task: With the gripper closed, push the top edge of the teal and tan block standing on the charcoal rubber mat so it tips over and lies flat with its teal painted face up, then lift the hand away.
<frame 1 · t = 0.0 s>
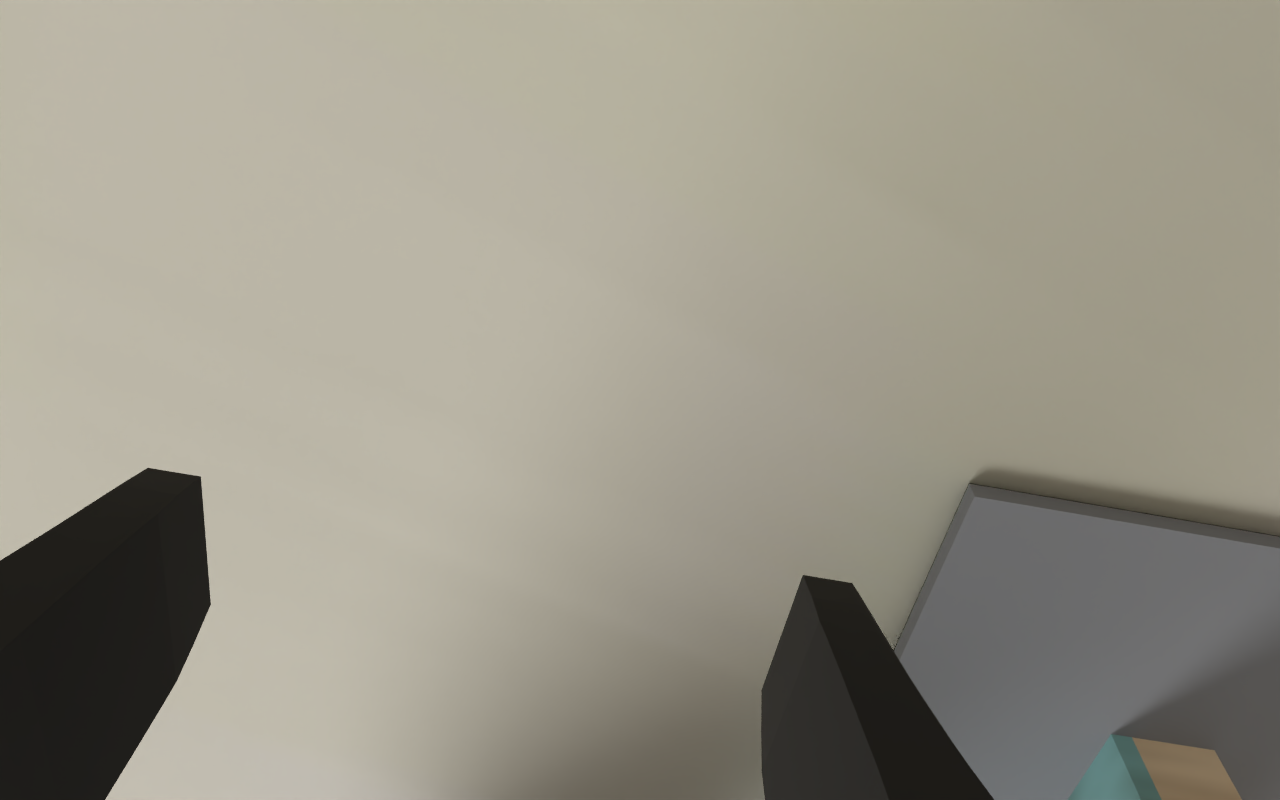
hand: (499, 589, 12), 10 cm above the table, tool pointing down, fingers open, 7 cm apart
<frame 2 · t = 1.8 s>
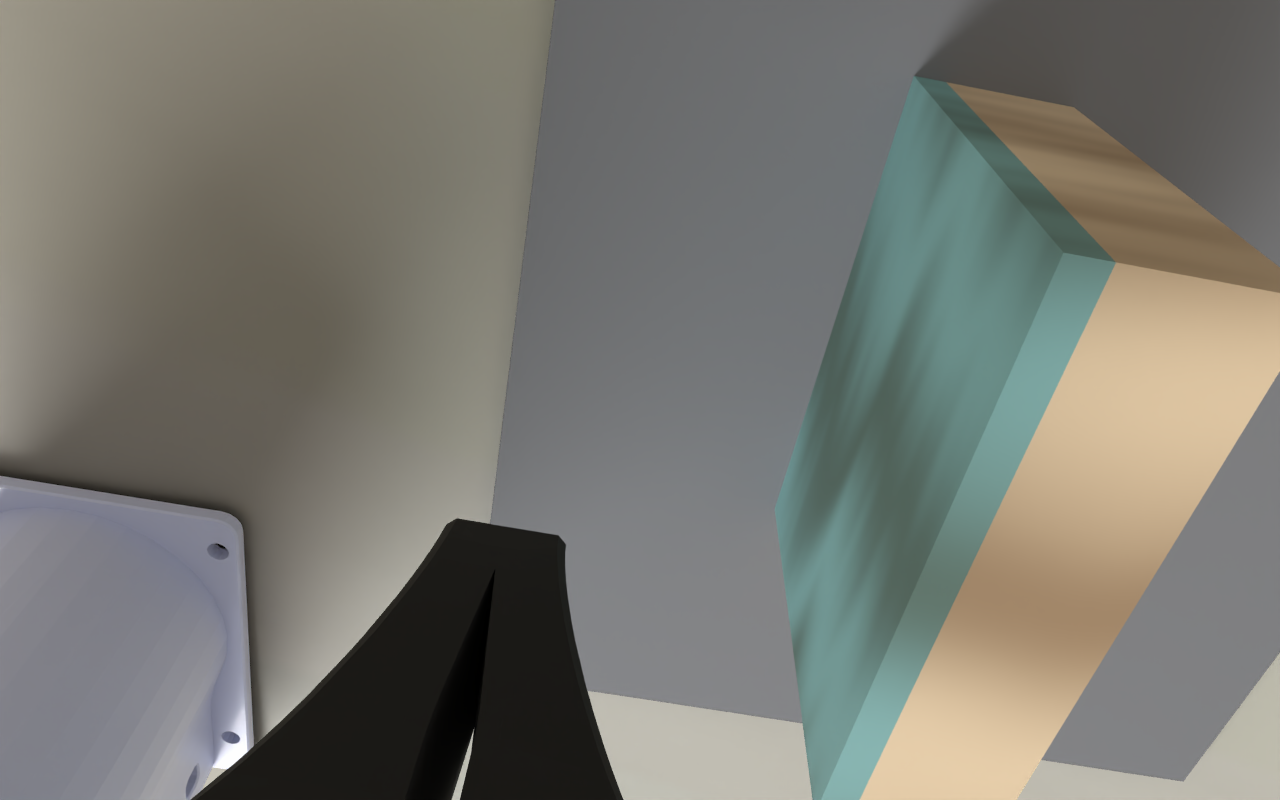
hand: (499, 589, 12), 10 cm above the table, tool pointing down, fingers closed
teal and tan block: (905, 333, 20), resting on mat
mat: (991, 338, 21), on the table
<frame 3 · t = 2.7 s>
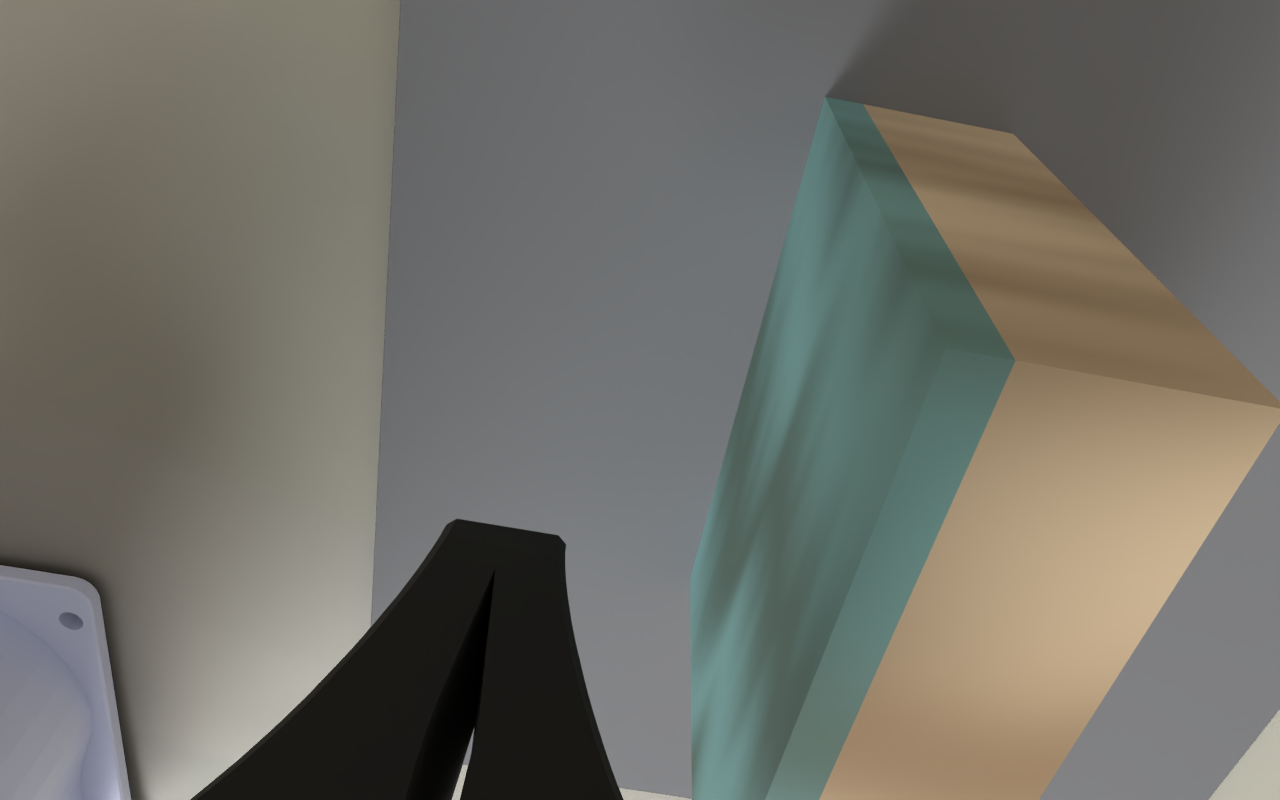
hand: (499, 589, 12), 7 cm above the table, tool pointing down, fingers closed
teal and tan block: (828, 388, 17), resting on mat
mat: (928, 392, 18), on the table
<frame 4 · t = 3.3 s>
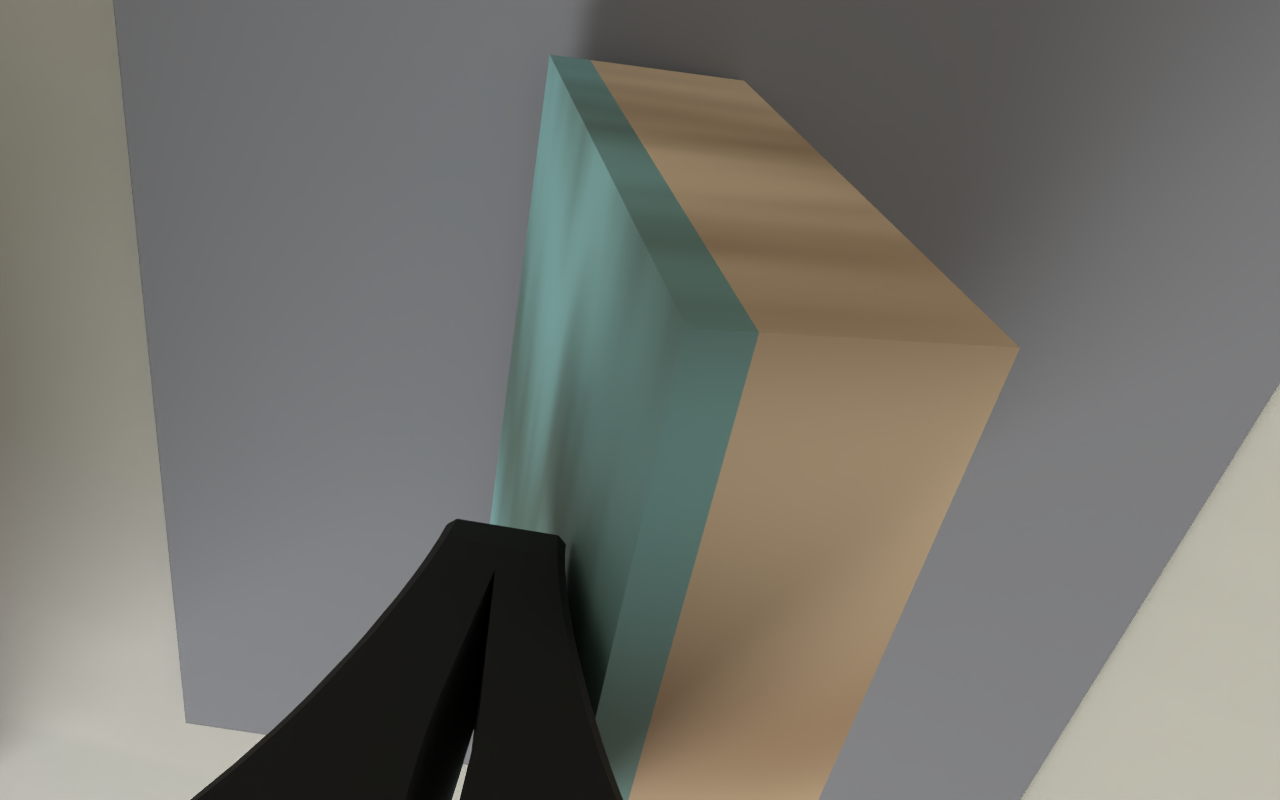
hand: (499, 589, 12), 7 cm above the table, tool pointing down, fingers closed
teal and tan block: (596, 357, 17), point 1 cm above the table, tilted 14°, touching gripper, mat
mat: (705, 352, 18), on the table
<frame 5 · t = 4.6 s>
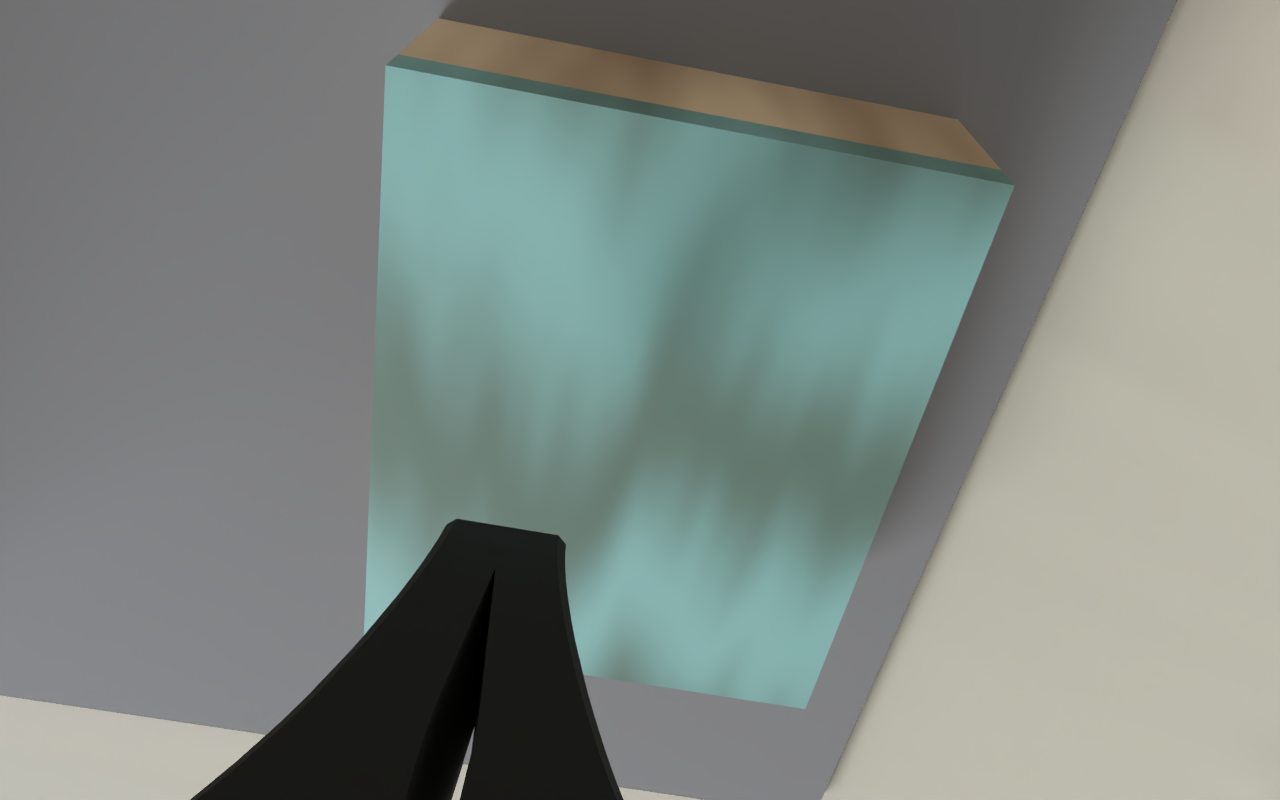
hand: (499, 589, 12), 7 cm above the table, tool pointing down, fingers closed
teal and tan block: (397, 356, 16), point 2 cm above the table, tilted 90°, touching mat
mat: (451, 306, 17), on the table
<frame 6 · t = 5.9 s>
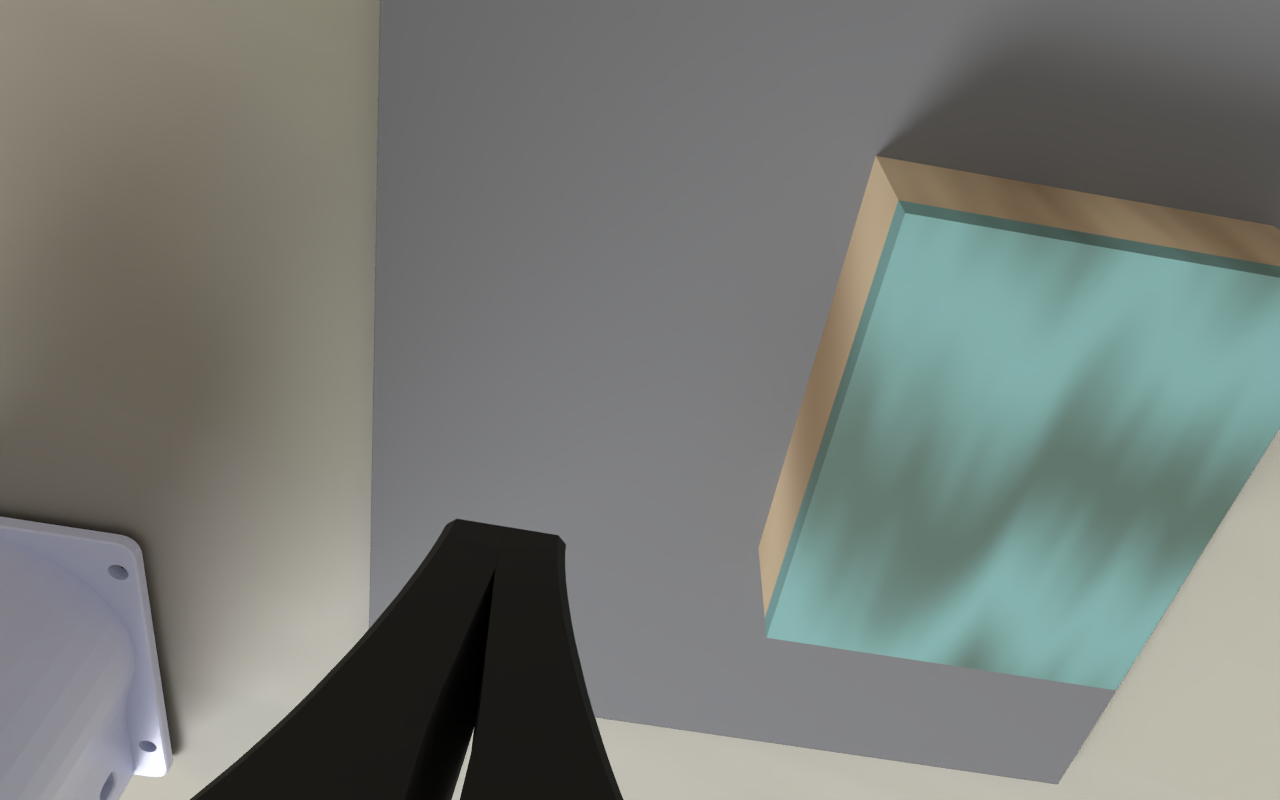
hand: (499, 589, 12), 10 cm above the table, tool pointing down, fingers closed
teal and tan block: (817, 413, 20), point 2 cm above the table, tilted 90°, touching mat
mat: (827, 368, 22), on the table
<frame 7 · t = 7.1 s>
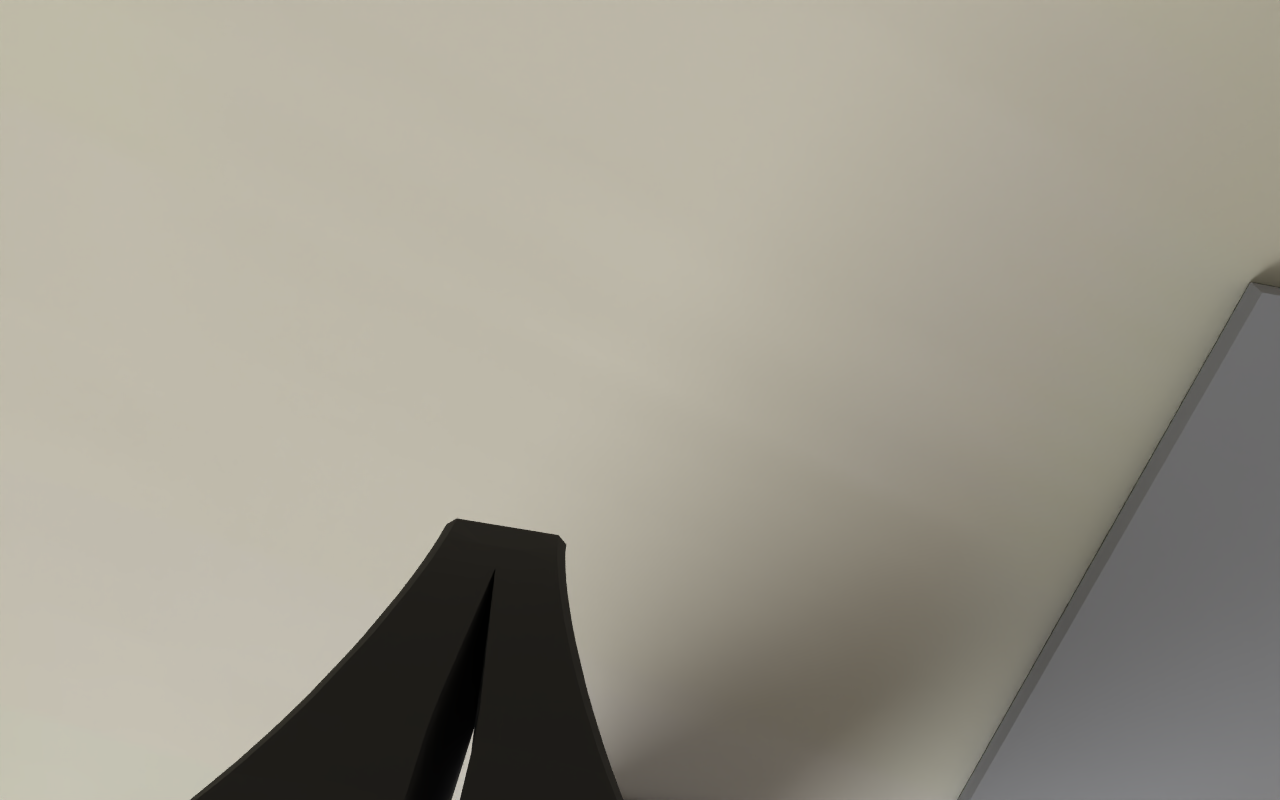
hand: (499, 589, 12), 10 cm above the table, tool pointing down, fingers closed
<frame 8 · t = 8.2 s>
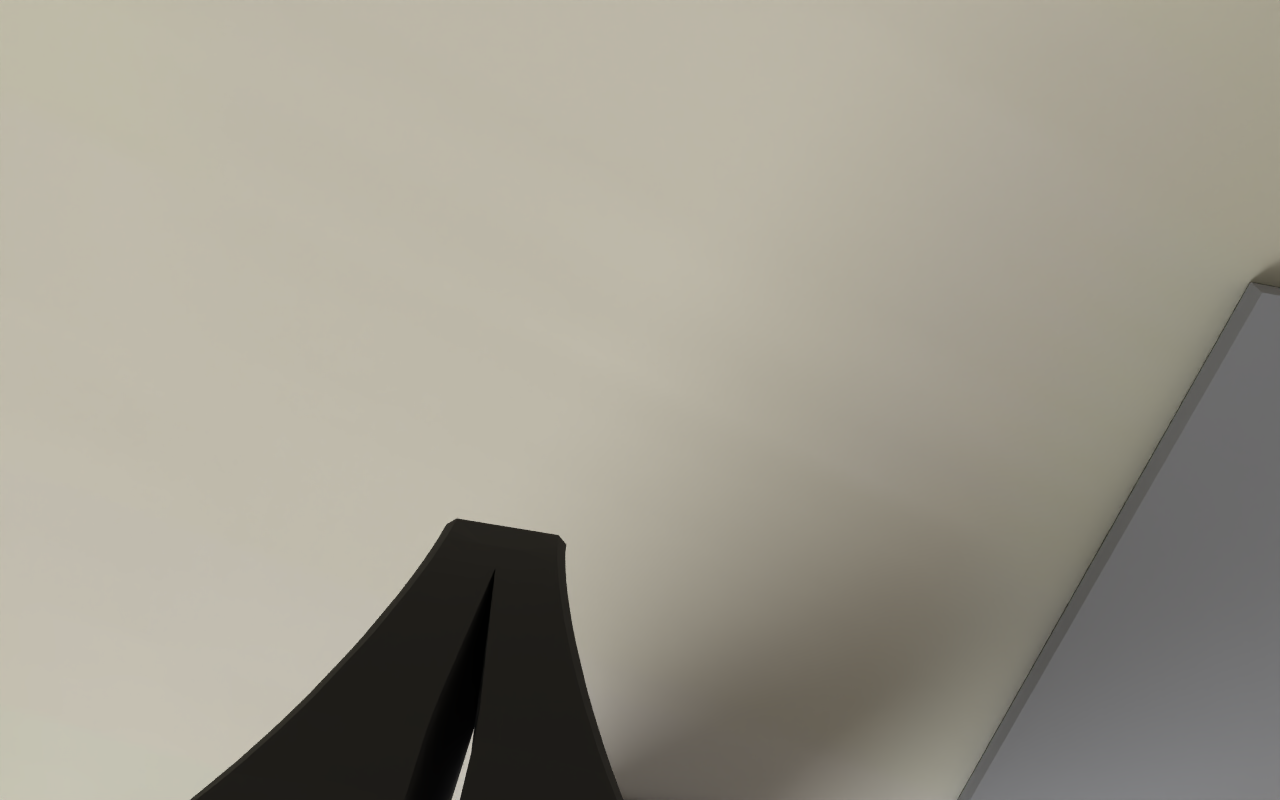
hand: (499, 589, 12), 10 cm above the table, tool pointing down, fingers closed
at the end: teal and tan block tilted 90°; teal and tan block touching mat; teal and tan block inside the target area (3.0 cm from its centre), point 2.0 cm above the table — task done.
